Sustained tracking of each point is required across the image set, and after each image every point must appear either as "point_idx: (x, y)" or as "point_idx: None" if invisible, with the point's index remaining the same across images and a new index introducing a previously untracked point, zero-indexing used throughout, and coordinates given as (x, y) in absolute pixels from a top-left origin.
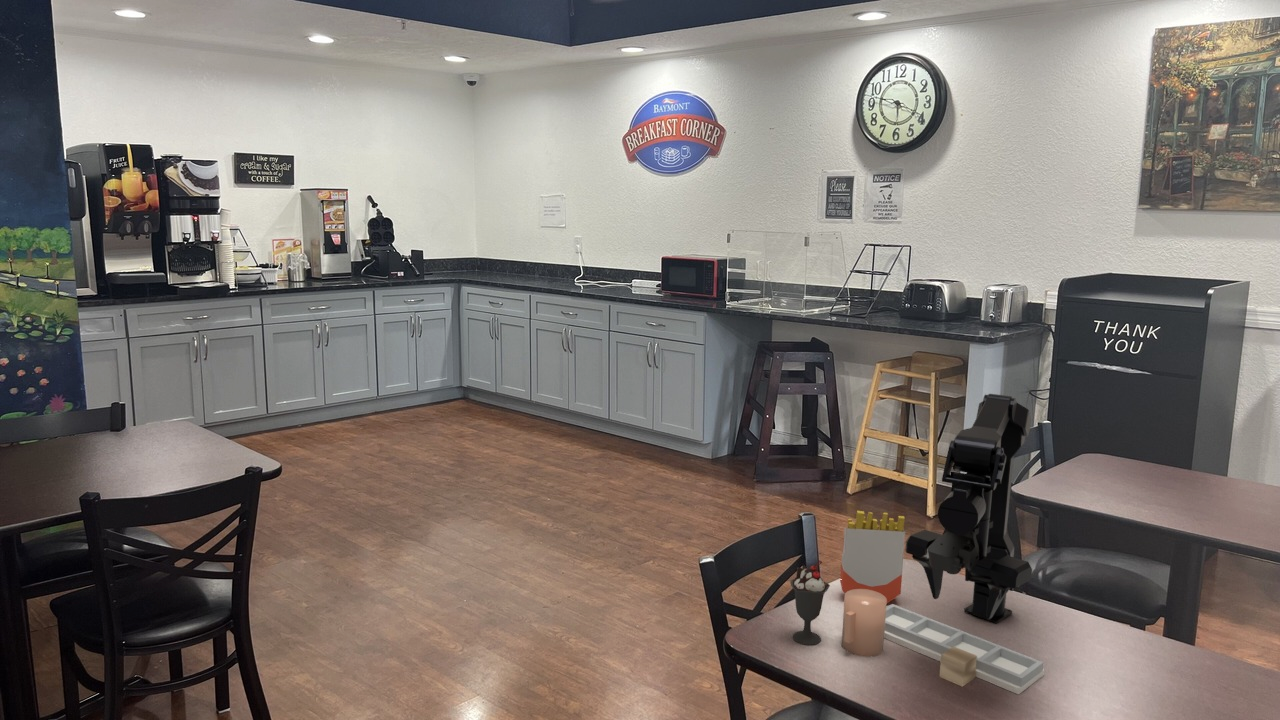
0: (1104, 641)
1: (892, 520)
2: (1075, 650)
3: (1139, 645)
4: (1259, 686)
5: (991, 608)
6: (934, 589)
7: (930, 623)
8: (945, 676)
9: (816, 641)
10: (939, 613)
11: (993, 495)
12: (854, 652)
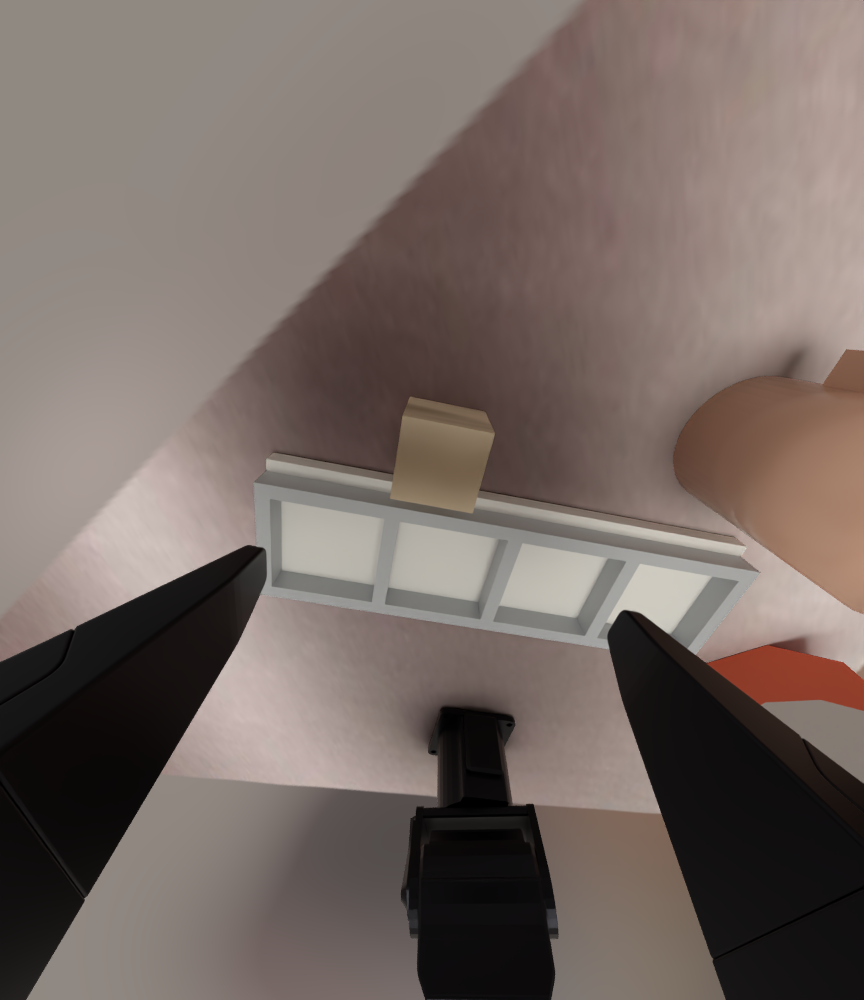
0: (257, 736)
1: None
2: (279, 691)
3: (210, 749)
4: None
5: (164, 587)
6: (676, 660)
7: (572, 628)
8: (466, 409)
9: None
10: (560, 691)
11: None
12: (775, 377)
